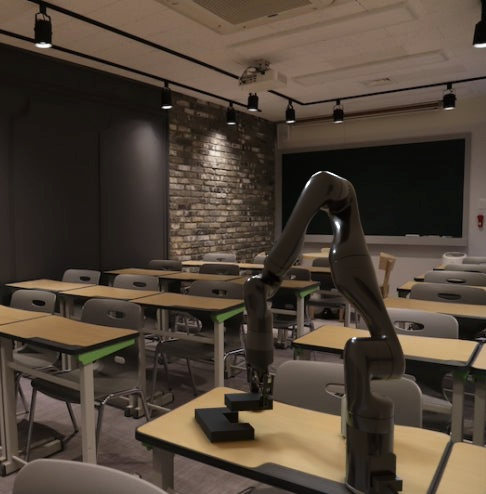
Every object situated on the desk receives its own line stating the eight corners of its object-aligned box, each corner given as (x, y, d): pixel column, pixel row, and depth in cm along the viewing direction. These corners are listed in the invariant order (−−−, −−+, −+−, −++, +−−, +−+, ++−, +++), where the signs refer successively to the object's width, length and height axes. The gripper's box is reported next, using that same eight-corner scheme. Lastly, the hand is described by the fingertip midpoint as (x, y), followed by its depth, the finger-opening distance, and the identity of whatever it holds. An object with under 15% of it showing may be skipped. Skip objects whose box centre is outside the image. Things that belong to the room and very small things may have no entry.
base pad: (254, 439, 130) (254, 428, 130) (211, 442, 129) (211, 431, 129) (233, 416, 146) (233, 406, 146) (194, 418, 145) (194, 408, 144)
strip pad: (273, 409, 136) (273, 399, 136) (231, 412, 134) (231, 401, 134) (264, 401, 142) (264, 391, 141) (224, 403, 140) (224, 393, 140)
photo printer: (359, 426, 138) (360, 383, 137) (374, 431, 134) (375, 387, 134) (338, 435, 132) (338, 390, 132) (353, 441, 129) (354, 395, 128)
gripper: (283, 352, 131) (283, 413, 132) (262, 339, 145) (261, 394, 146) (257, 353, 130) (256, 415, 131) (237, 340, 144) (237, 395, 145)
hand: (259, 403), depth 138 cm, fingers closed on strip pad, 6 cm apart
